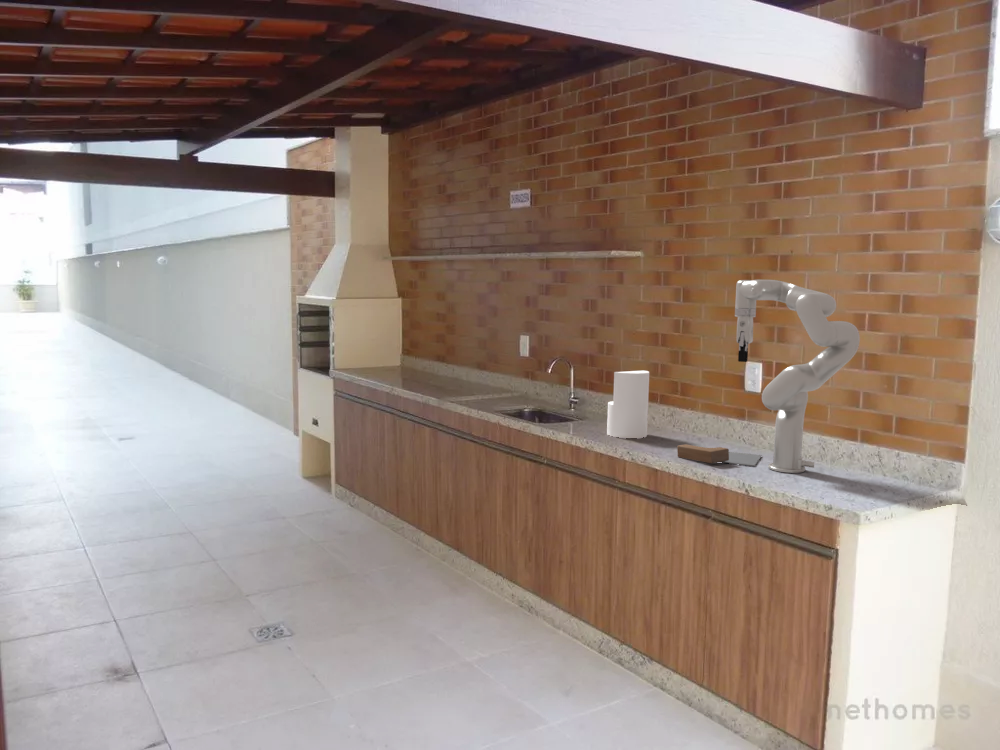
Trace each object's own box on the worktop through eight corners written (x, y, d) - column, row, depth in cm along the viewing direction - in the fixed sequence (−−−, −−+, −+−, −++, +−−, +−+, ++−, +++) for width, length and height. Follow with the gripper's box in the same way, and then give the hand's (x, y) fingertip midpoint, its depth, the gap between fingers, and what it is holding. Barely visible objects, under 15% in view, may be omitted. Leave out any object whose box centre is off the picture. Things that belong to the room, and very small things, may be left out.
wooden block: (729, 460, 303) (694, 454, 318) (729, 448, 302) (694, 442, 318) (711, 463, 298) (677, 457, 313) (711, 451, 298) (676, 445, 313)
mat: (761, 456, 317) (761, 455, 317) (754, 466, 299) (754, 465, 299) (709, 451, 326) (709, 449, 326) (699, 461, 307) (699, 459, 307)
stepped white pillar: (655, 436, 356) (657, 372, 353) (625, 440, 346) (628, 374, 343) (627, 430, 370) (630, 368, 367) (598, 433, 360) (600, 370, 357)
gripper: (752, 313, 300) (750, 363, 302) (758, 312, 313) (755, 360, 315) (731, 313, 303) (729, 362, 305) (738, 312, 316) (735, 359, 318)
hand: (742, 361), depth 310 cm, fingers closed
